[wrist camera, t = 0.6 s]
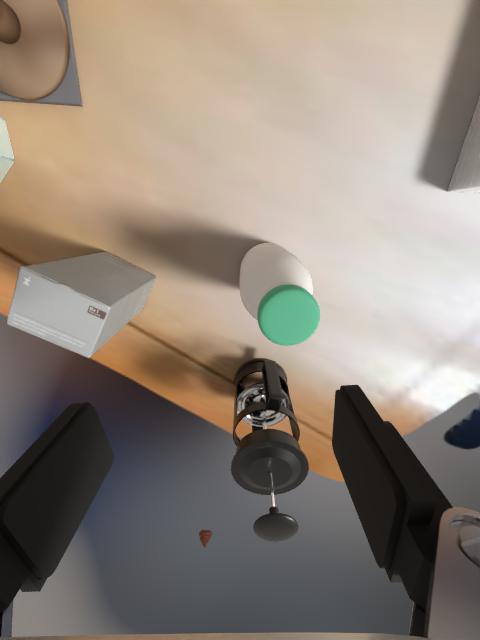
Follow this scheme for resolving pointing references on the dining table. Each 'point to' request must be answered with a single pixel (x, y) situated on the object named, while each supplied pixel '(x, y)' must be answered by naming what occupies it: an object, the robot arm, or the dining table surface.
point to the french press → (267, 445)
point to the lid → (32, 48)
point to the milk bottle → (278, 294)
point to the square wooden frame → (469, 159)
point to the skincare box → (79, 300)
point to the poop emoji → (205, 536)
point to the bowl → (5, 150)
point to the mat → (70, 85)
